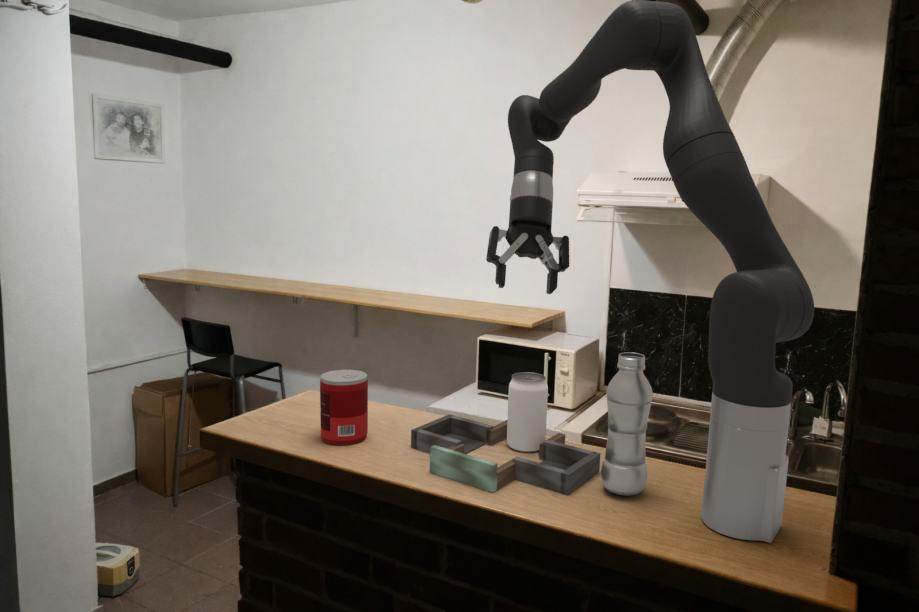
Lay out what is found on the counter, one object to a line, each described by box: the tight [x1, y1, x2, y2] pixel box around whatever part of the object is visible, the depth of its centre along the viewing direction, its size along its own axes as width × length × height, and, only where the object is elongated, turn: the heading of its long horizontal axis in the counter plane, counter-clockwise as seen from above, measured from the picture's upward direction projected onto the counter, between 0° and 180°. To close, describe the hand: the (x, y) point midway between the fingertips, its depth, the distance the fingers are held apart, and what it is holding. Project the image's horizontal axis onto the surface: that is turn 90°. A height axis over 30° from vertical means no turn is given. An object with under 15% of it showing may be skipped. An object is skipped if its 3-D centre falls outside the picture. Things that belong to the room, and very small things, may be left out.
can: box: [506, 371, 549, 453], centre depth 116 cm, size 6×6×12 cm
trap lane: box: [410, 413, 602, 496], centre depth 110 cm, size 29×22×4 cm
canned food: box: [319, 369, 369, 446], centre depth 118 cm, size 8×8×11 cm
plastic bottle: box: [600, 351, 654, 496], centre depth 98 cm, size 6×7×20 cm
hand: (525, 290), depth 120 cm, fingers open, 8 cm apart
